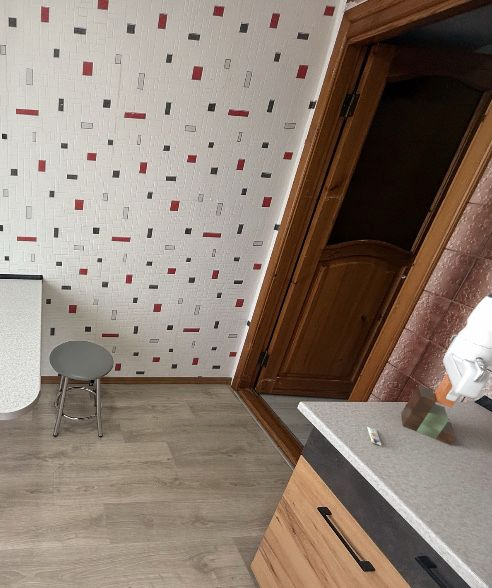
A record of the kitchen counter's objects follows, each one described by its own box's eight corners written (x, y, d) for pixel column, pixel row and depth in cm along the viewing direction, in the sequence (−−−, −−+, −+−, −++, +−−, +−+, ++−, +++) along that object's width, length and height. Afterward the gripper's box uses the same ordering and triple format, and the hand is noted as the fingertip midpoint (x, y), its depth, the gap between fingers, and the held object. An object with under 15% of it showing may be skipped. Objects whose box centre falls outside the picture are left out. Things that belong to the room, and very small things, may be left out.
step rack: (446, 430, 96) (467, 401, 91) (450, 445, 91) (472, 414, 86) (400, 413, 101) (418, 384, 97) (402, 425, 96) (421, 396, 92)
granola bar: (365, 427, 94) (367, 424, 94) (375, 431, 93) (377, 428, 93) (370, 443, 89) (372, 440, 88) (381, 447, 88) (383, 444, 87)
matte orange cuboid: (448, 398, 93) (461, 378, 90) (451, 407, 89) (465, 387, 86) (433, 393, 95) (446, 373, 92) (436, 402, 91) (449, 381, 88)
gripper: (506, 374, 76) (472, 419, 82) (484, 341, 91) (456, 381, 96) (467, 362, 79) (437, 406, 85) (452, 332, 94) (427, 371, 100)
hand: (447, 393), depth 91 cm, fingers closed on matte orange cuboid, 5 cm apart
